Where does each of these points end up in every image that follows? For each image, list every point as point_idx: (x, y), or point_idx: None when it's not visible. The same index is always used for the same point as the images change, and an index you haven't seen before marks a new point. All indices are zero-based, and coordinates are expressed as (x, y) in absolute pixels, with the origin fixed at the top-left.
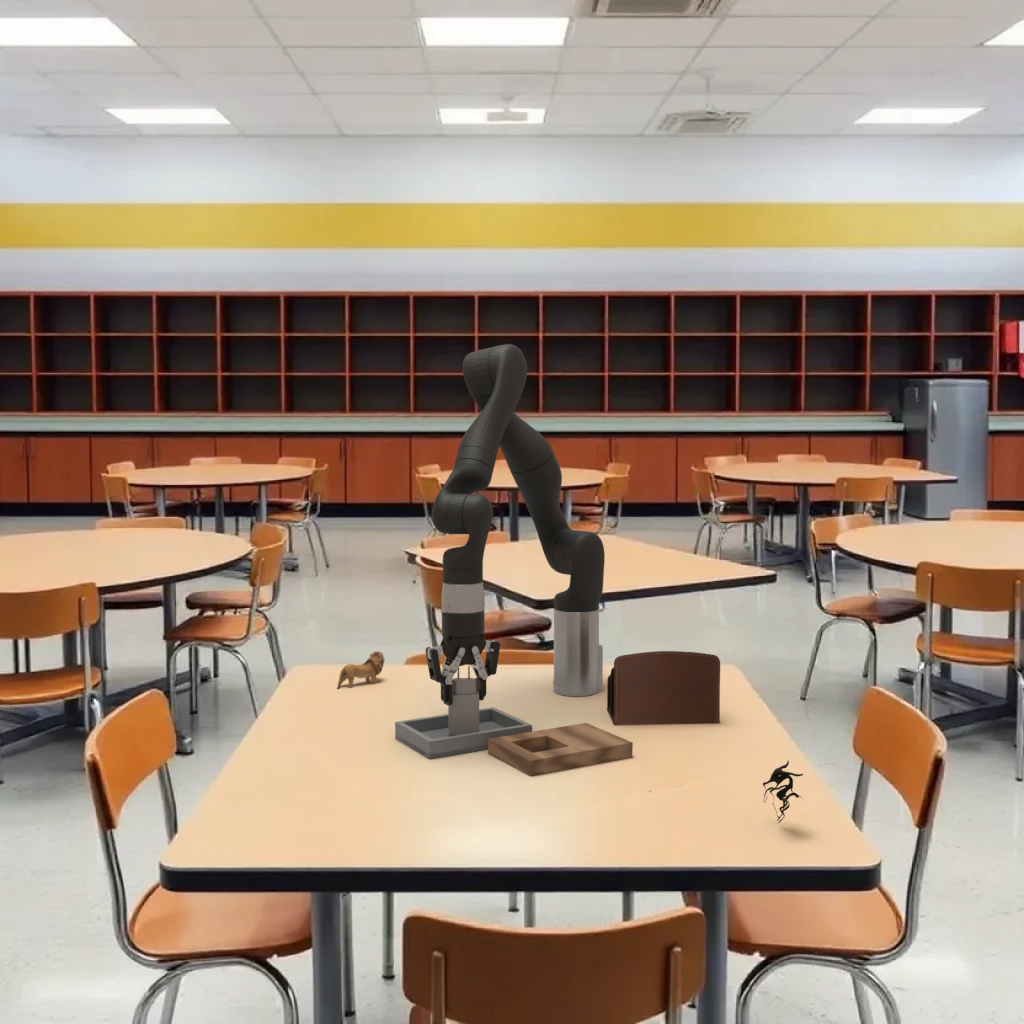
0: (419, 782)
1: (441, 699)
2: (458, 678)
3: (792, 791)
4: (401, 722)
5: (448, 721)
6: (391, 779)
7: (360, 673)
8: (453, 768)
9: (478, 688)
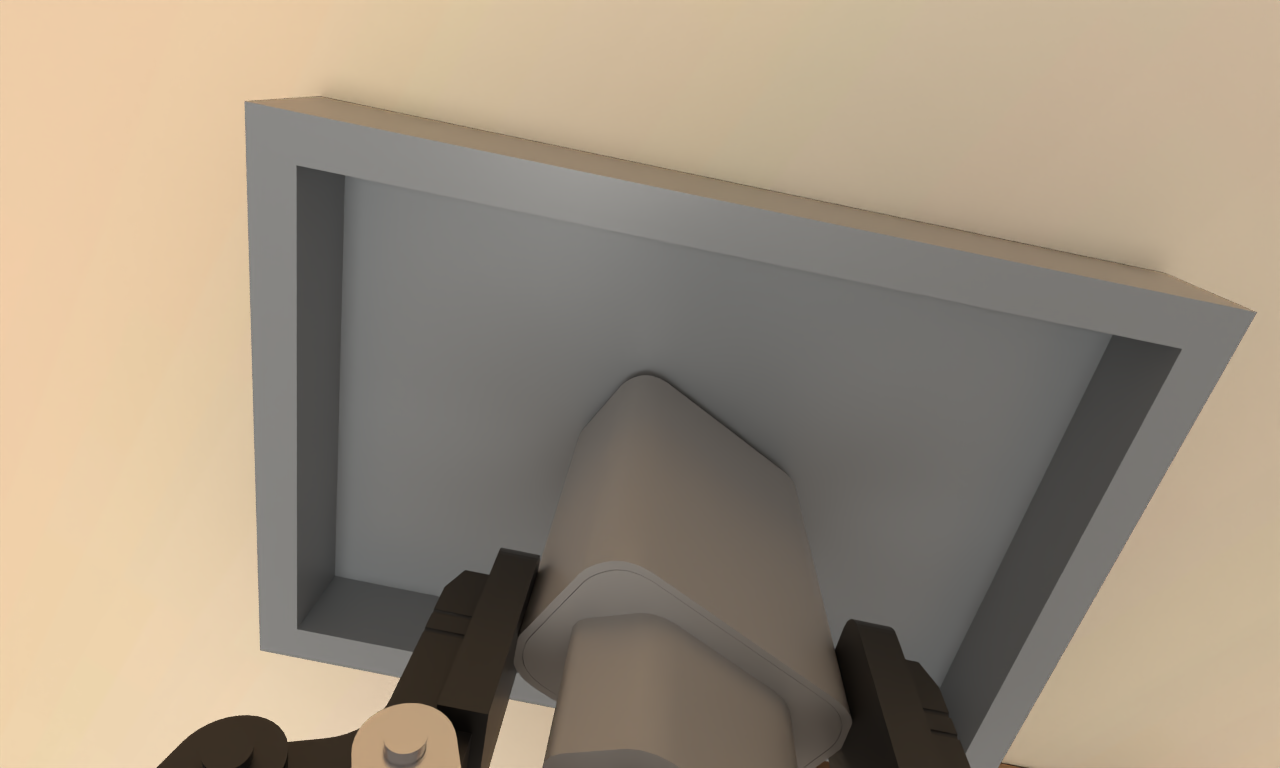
0: (131, 756)
1: (453, 584)
2: None
3: None
4: (287, 158)
5: (568, 476)
6: (29, 667)
7: None
8: (348, 728)
9: (853, 764)
